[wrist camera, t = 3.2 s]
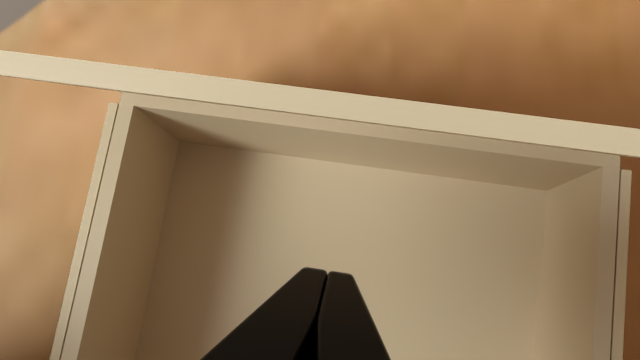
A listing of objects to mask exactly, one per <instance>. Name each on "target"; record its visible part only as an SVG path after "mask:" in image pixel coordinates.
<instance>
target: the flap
mask: <svg viewBox="0 0 640 360" xmlns="http://www.w3.org/2000/svg"><path fill="white" fill-rule="evenodd" d="M0 76H7V77H15V78H22V79H29V80H37V81H44V82H52V83H59V84H67V85H74V86H81V87H89V88H96V89H104V90H111V91H119V92H126V93H134V94H141V95H149V96H157V97H165V98H173V99H180V100H188V101H196V102H204V103H212V104H219V105H227V106H235V107H243V108H251V109H259V110H266V111H274V112H282V113H290V114H298V115H305V116H313V117H321V118H329V119H337V120H344V121H352V122H360V123H368V124H376V125H383V126H391V127H399V128H407V129H415V130H422V131H430V132H438V133H446V134H454V135H461V136H469V137H477V138H485V139H493V140H500V141H508V142H516V143H524V144H532V145H539V146H547V147H555V148H563V149H571V150H578V151H586V152H594V153H602V154H610V155H618V156H626V157H634V158H640V129H636V128H628V127H620V126H611V125H603V124H595V123H587V122H579V121H571V120H563V119H555V118H547V117H539V116H530V115H522V114H514V113H506V112H498V111H490V110H482V109H474V108H466V107H457V106H449V105H441V104H433V103H425V102H417V101H409V100H401V99H393V98H384V97H376V96H368V95H360V94H352V93H344V92H336V91H328V90H320V89H312V88H303V87H295V86H287V85H279V84H271V83H263V82H255V81H247V80H239V79H230V78H222V77H214V76H206V75H198V74H190V73H182V72H174V71H166V70H157V69H149V68H141V67H133V66H125V65H117V64H109V63H101V62H93V61H84V60H76V59H68V58H60V57H52V56H44V55H36V54H28V53H20V52H12V51H3V50H0Z"/></svg>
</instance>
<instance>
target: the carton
mask: <svg viewBox="0 0 640 360" xmlns="http://www.w3.org/2000/svg"><path fill="white" fill-rule="evenodd" d="M620 157H621V156H618V155H610V154H602V153H594V152H586V151H578V150H571V149H563V148H555V147H547V146H539V145H532V144H524V143H516V142H508V141H500V140H493V139H485V138H477V137H469V136H461V135H454V134H446V133H438V132H430V131H422V130H415V129H407V128H399V127H391V126H383V125H376V124H368V123H360V122H352V121H344V120H337V119H329V118H321V117H313V116H305V115H298V114H290V113H282V112H274V111H266V110H259V109H251V108H243V107H235V106H227V105H219V104H212V103H204V102H196V101H188V100H180V99H173V98H165V97H157V96H149V95H141V94H134V93H126V92H122V94H121V98H120V103H119V104H118V103H110V102H109V105H108V110H107V114H106V118H105V123H104V127H103V131H102V136H101V140H100V144H99V148H98V153H97V157H96V161H95V166H94V170H93V174H92V179H91V183H90V187H89V191H88V196H87V200H86V204H85V209H84V213H83V217H82V222H81V226H80V230H79V234H78V239H77V243H76V247H75V252H74V256H73V260H72V264H71V269H70V273H69V277H68V282H67V286H66V290H65V295H64V299H63V303H62V307H61V312H60V316H59V320H58V325H57V329H56V333H55V338H54V342H53V346H52V350H51V355H50V359H49V360H200V359H201V358H202V357H203V356H204V355H206V354H207V353H208V352H209V351H210V350H211V349H212V348H213V347H215V346H216V345H217V344H218V343H219V342H220V341H221V340H222V339H224V338H225V337H226V336H227V335H228V334H229V333H230V332H231V331H232V330H234V329H235V328H236V327H237V326H238V325H239V324H240V323H241V322H243V321H244V320H245V319H246V318H247V317H248V316H249V315H250V314H252V313H253V312H254V311H255V310H256V309H257V308H258V307H259V306H261V305H262V304H263V303H264V302H265V301H266V300H267V299H268V298H269V297H271V296H272V295H273V294H274V293H275V292H276V291H277V290H278V289H280V288H281V287H282V286H283V285H284V284H285V283H286V282H287V281H289V280H290V279H291V278H292V277H293V276H294V275H295V274H296V273H298V272H299V271H300V270H301V269H302V268H304V267H310V268H317V269H323V270H325V271H326V272H327V275H328V273H329V272H330V271H336V272H343V273H349V274H351V275H353V277H354V279H355V281H356V283H357V285H358V288H359V290H360V292H361V294H362V296H363V299H364V301H365V303H366V305H367V308H368V310H369V312H370V314H371V316H372V319H373V321H374V323H375V325H376V327H377V330H378V332H379V334H380V336H381V339H382V341H383V343H384V345H385V347H386V350H387V352H388V354H389V356H390V359H391V360H623V343H624V322H625V302H626V281H627V260H628V240H629V219H630V198H631V178H632V170H624V169H621V170H620Z"/></svg>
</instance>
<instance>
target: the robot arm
mask: <svg viewBox="0 0 640 360" xmlns="http://www.w3.org/2000/svg"><path fill="white" fill-rule="evenodd" d="M200 360H391V359H390V356H389V354H388V352H387V350H386V347H385V345H384V343H383V341H382V339H381V336H380V334H379V332H378V330H377V327H376V325H375V323H374V321H373V319H372V316H371V314H370V312H369V310H368V308H367V305H366V303H365V301H364V299H363V296H362V294H361V292H360V290H359V288H358V285H357V283H356V281H355V279H354V277H353V275H351V274H349V273H343V272H336V271H330V272H329V273H328V275H327V272H326V271H325V270H323V269H317V268H310V267H304V268H302V269H301V270H300V271H299V272H298V273H296V274H295V275H294V276H293V277H292V278H291V279H290V280H289V281H287V282H286V283H285V284H284V285H283V286H282V287H281V288H280V289H278V290H277V291H276V292H275V293H274V294H273V295H272V296H271V297H269V298H268V299H267V300H266V301H265V302H264V303H263V304H262V305H261V306H259V307H258V308H257V309H256V310H255V311H254V312H253V313H252V314H250V315H249V316H248V317H247V318H246V319H245V320H244V321H243V322H241V323H240V324H239V325H238V326H237V327H236V328H235V329H234V330H232V331H231V332H230V333H229V334H228V335H227V336H226V337H225V338H224V339H222V340H221V341H220V342H219V343H218V344H217V345H216V346H215V347H213V348H212V349H211V350H210V351H209V352H208V353H207V354H206V355H204V356H203V357H202V358H201V359H200Z"/></svg>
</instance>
